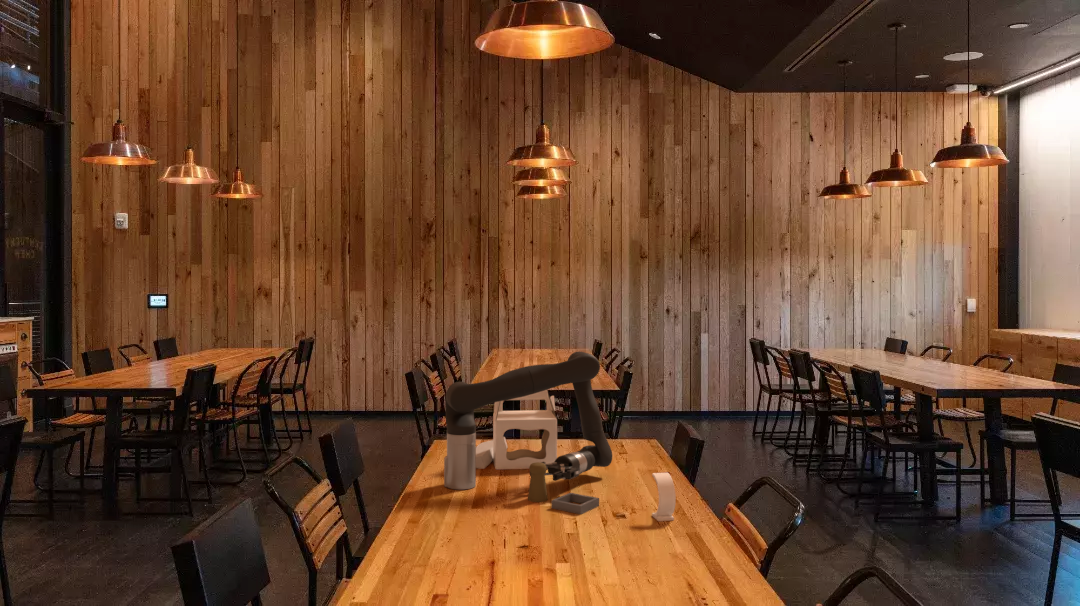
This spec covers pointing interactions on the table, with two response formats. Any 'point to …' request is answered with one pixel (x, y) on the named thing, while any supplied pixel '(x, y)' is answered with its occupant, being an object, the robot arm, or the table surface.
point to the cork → (537, 483)
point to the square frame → (585, 506)
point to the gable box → (525, 422)
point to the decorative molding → (485, 454)
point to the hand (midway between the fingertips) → (542, 475)
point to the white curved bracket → (665, 497)
